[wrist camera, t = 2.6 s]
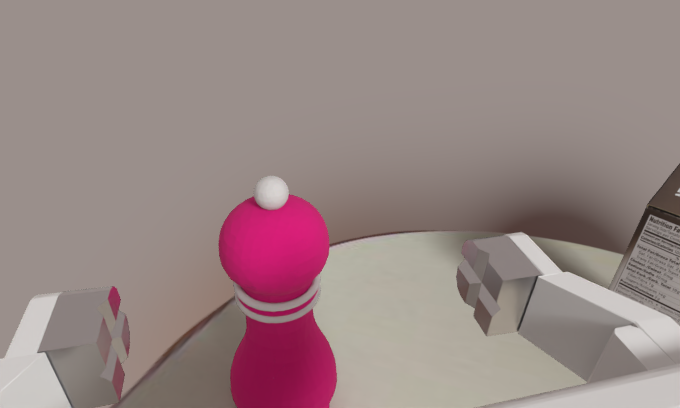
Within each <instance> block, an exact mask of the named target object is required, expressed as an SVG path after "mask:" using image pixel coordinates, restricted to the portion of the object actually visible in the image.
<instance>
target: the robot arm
mask: <svg viewBox="0 0 680 408" xmlns="http://www.w3.org/2000/svg"><path fill="white" fill-rule="evenodd" d="M461 253H462V255H463V256H464V258H465V260H464V261H463V262H462V263H461V264H460V265H459V266H458V271H457V276H456V278H457V287H458V290H459V293H460V295H461V297H462V299H463V300H464V302H465V303H466V304H468V305H470V306H471V307H473V308H475V311H474V318H475V319H476V321H477V322H478V324H479V325H480V327H481V329H482V330H483V332H484V333H485V335H486V336H493V335H499V334H506V333H513V332H518V334H520V335H521V336H523V337H524V338H525V339H527V340H528V341H530V342H531V343H533V344H534V345H535V346H537V347H538V348H540V349H541V350H543V351H544V352H545V353H547V354H548V355H550V356H551V357H553V358H554V359H555V360H557V361H558V362H560V363H561V364H563V365H564V366H565V367H567V368H568V369H570V370H571V371H573V372H574V373H575V374H577V375H578V376H580V377H581V378H582V379H584V380H585V381H587V383H586V384H582V385H578V386H573V387H568V388H564V389H559V390H554V391H550V392H545V393H540V394H536V395H531V396H527V397H522V398H517V399H513V400H508V401H503V402H499V403H494V404H489V405H485V406H480V407H475V408H680V326H679V325H678V324H677V323H676V322H675V321H674V320H673V319H672V318H671V317H669V316H667V315H665V314H662V313H660V312H658V311H656V310H653V309H651V308H649V307H647V306H644V305H642V304H640V303H638V302H635V301H633V300H631V299H629V298H626V297H624V296H622V295H620V294H617V293H615V292H613V291H611V290H608V289H606V288H604V287H602V286H599V285H597V284H595V283H593V282H590V281H588V280H586V279H584V278H581V277H579V276H577V275H575V274H572V273H570V272H562V271H561V270H560V269H559V268H558V267H557V266H556V265H555V264H554V263H553V262H552V260H551V259H550V258H549V257H548V256H547V255H546V254H545V253H544V252H543V251H542V250H541V249H540V248H539V247H538V246H537V245H536V244H535V243H534V242H533V241H532V240H531V239H530V237H529V236H528V235H526V234H524V233H522V232H519V233H512V234H505V235H502V236H494V237H486V238H479V239H472V240H466V242H465V243H464V245H463V248H462V252H461ZM120 300H121V299H120V296H119V294H118V291H117V289H116V288H115V287H113V286H111V287H102V288H93V289H83V290H75V291H65V292H61V293H51V294H42V295H36V296H35V297H33V298H32V299H31V300H30V302H29V304H28V306H27V309H26V311H25V313H24V315H23V317H22V320H21V322H20V324H19V326H18V329H17V331H16V333H15V335H14V337H13V340H12V342H11V344H10V346H9V349H8V351H7V353H6V355H5V357H4V359H0V408H95V407H100V406H105V405H110V404H115V403H119V402H120V398H121V392H122V387H123V381H124V376H125V374H124V371H123V369H122V366H121V364H122V363H123V362H124V361H125V359H127V358H128V353H129V346H130V344H129V343H130V332H129V326H128V321H127V318H126V315H125V314H124V313H123V312H121V311H119V305H120Z"/></svg>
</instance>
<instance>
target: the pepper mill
mask: <svg viewBox="0 0 680 408" xmlns="http://www.w3.org/2000/svg"><path fill="white" fill-rule="evenodd" d="M328 255H329V235H328V230H327V227H326V224H325V222H324V220H323V218H322V217H321V215H320V213H319V212H318V211H317V209H316V208H314V207H313V206H312V205H311V204H310V203H309V202H307V201H305V200H304V199H302V198H299V197H297V196H294V195H290V194H289V191H288V187H287V185H286V184H285V182H284V181H283V180H282V179H280V178H279V177H276V176H266V177H264V178H262V179H260V180H259V181H258V182H257V184H256V186H255V188H254V197H252V198H249V199H247V200H245V201H244V202H243V203H241V204H239V205H238V206H237V207H236V208H235V209H233V210H232V211H231V213H230V214H229V215H228V217H227V218H226V220H225V221H224V224H223V226H222V228H221V231H220V236H219V256H220V260H221V264H222V266H223V268H224V270H225V271H226V273H227V274H228V276H229V277H230V279H231V280H233V286H234V290H235V300H236V303H237V305H238V307H239V308H240V310H241V311H242V312H243V313H244V314H245V315H246V323H247V328H246V333H245V336H244V337H243V339H242V341H241V343H240V345H239V347H238V349H237V351H236V353H235V356H234V359H233V363H232V367H231V376H230V379H231V392H232V396H233V400H234V402H235V404H236V406H237V408H329V403H330V401H331V398H332V396H333V394H334V391H335V388H336V382H337V373H336V363H335V358H334V355H333V353H332V350H331V347H330V345H329V342H328V341H327V339H326V338H325V336H324V335H323V333H322V332H321V330H320V329H319V327H318V326H317V324H316V322H315V319H314V316H313V309H312V308H313V307H314V306H315V305H316V303H317V301H318V299H319V297H320V291H321V288H320V281H321V277H320V272H321V271H322V269H323V267H324V265H325V263H326V260H327V258H328Z"/></svg>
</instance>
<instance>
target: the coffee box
mask: <svg viewBox="0 0 680 408" xmlns="http://www.w3.org/2000/svg"><path fill="white" fill-rule="evenodd" d="M608 290H611V291H613V292H615V293H617V294H620V295H622V296H624V297H626V298H629V299H631V300H633V301H635V302H638V303H640V304H642V305H644V306H647V307H649V308H651V309H653V310H656V311H658V312H660V313H662V314H665V315H667V316H669V317H671V318H672V319H673V320H674V321H675V322H676V323H677V324H678V325H679V326H680V164H679V165H678V166H677V168H676V169H675V170H674V171H673V173H672V174H671V175H670V176H669V178H668V179H667V180H666V182H665V183H664V184H663V186H662V187H661V188H660V189H659V190H658V192H657V193H656V194H655V195H654V196H653V198H652V199H651V200H650V201H649V203H648V204H647V207H646V209H645V212H644V214H643V216H642V218H641V220H640V222H639V225H638V227H637V229H636V231H635V233H634V235H633V237H632V239H631V242H630V244H629V246H628V248H627V250H626V252H625V254H624V257H623V259H622V261H621V263H620V265H619V267H618V269H617V271H616V274H615V276H614V278H613V280H612V282H611V284H610V286H609V289H608Z"/></svg>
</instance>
